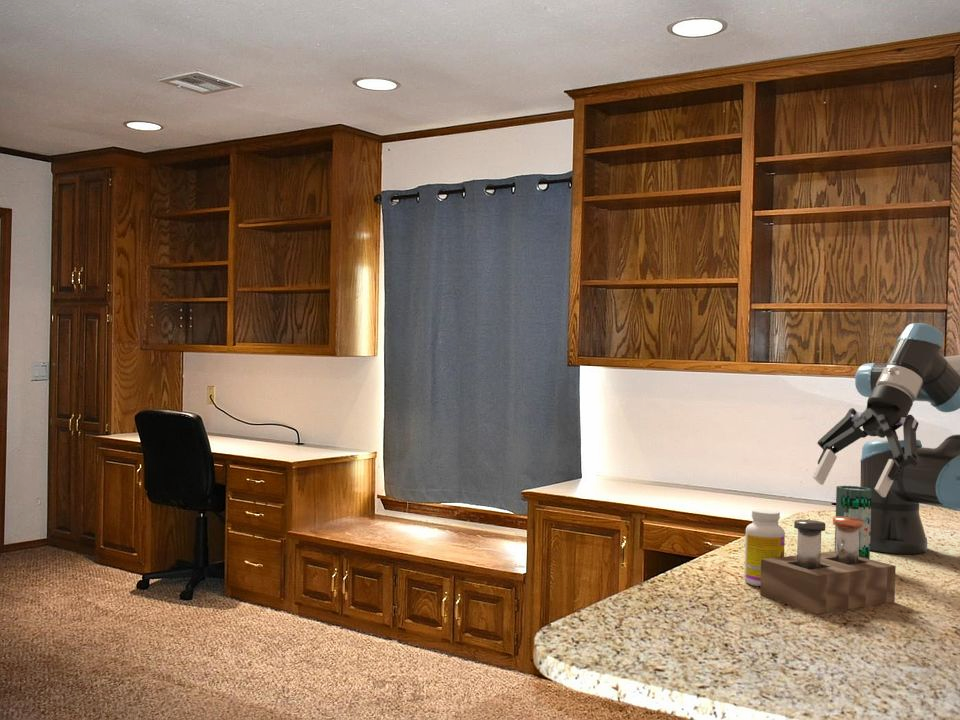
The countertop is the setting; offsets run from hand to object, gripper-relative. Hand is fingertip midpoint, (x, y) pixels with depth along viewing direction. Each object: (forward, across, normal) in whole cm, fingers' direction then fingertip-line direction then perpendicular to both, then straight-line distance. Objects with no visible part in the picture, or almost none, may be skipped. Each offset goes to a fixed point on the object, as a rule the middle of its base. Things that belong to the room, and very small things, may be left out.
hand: (847, 487), depth 169 cm
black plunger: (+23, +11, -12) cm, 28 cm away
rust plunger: (+18, +11, -5) cm, 21 cm away
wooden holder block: (+24, +11, -6) cm, 27 cm away
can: (+9, -4, +16) cm, 18 cm away
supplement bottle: (+25, 0, -7) cm, 26 cm away
